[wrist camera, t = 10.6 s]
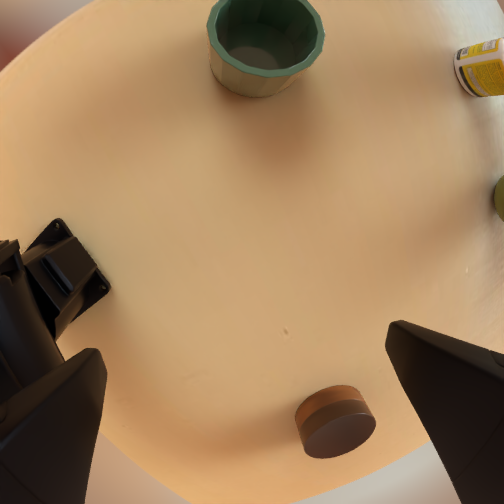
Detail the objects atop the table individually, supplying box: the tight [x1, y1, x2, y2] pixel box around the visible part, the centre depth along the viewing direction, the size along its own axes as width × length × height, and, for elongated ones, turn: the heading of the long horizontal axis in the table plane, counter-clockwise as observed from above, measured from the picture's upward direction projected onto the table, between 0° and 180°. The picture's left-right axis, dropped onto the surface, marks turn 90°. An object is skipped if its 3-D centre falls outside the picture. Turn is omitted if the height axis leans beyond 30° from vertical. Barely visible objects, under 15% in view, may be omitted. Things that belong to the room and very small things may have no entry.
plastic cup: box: [206, 0, 325, 97], centre depth 14 cm, size 6×6×5 cm
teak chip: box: [295, 385, 367, 431], centre depth 25 cm, size 7×7×2 cm
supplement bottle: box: [454, 38, 504, 97], centre depth 13 cm, size 5×5×8 cm
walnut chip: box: [299, 399, 376, 459], centre depth 23 cm, size 7×7×2 cm
